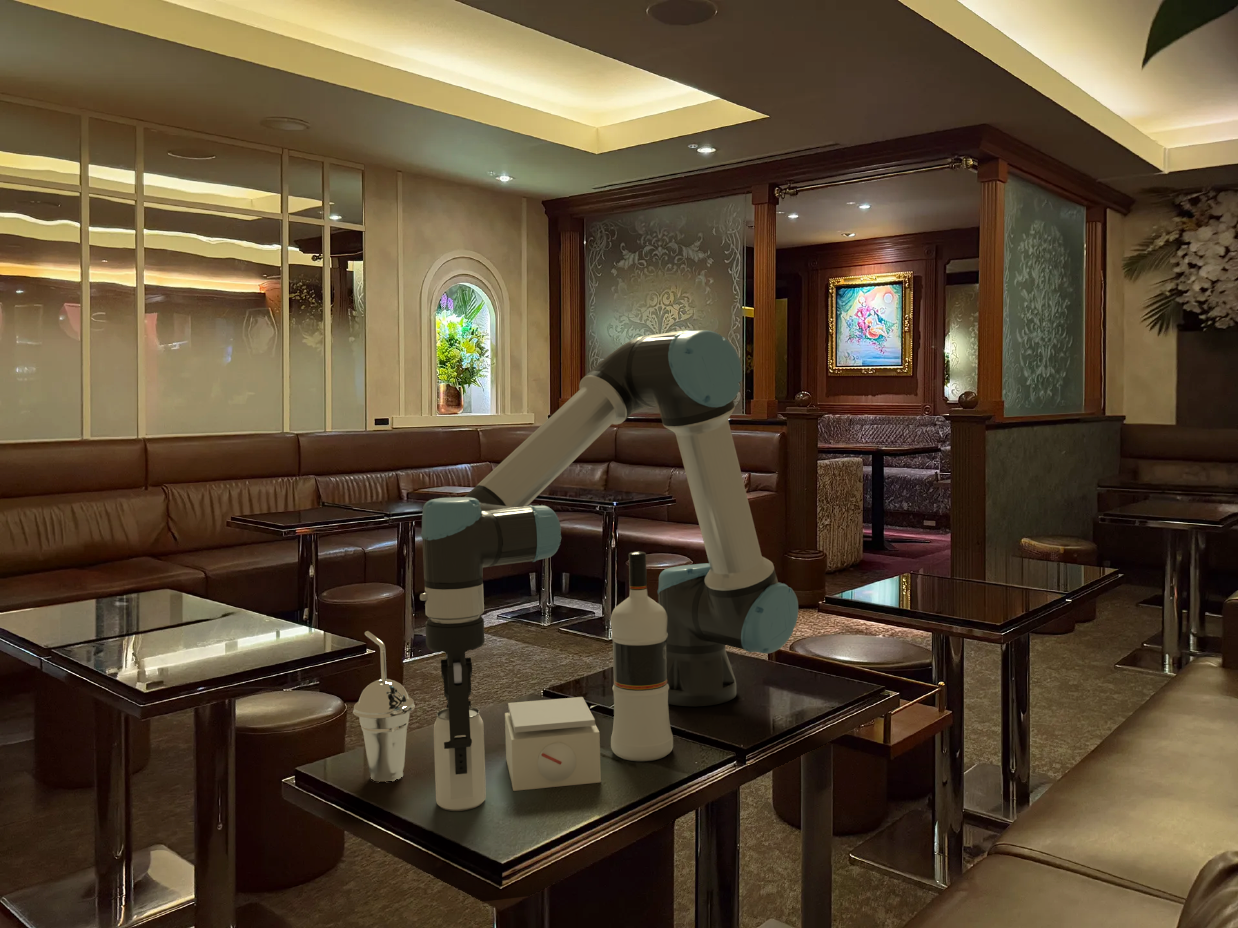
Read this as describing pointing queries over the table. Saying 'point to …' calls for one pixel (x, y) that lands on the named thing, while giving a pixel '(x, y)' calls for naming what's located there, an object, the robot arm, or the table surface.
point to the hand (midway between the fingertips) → (460, 776)
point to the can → (444, 764)
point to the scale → (551, 744)
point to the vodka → (640, 672)
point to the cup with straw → (384, 722)
